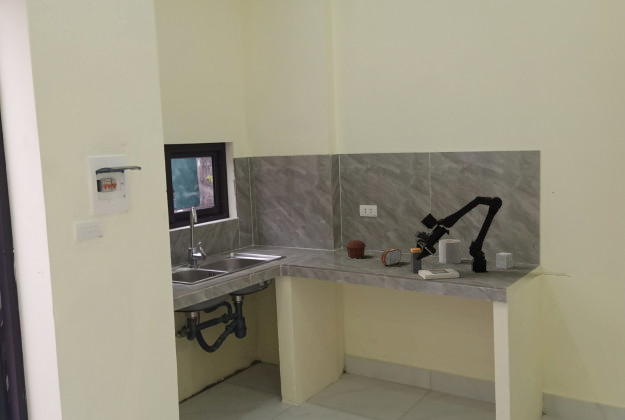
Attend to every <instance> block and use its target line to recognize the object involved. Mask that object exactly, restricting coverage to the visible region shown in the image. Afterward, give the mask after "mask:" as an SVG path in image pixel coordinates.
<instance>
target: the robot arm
mask: <svg viewBox="0 0 625 420" xmlns="http://www.w3.org/2000/svg"><path fill="white" fill-rule="evenodd" d="M479 205H483V206H488V210H487V213H486V215H485V218H484V221H483V223H482V225H481V227H480V229H479V232H478V233H477V236H476V238H475V239H471V243H470V245H468V249H469V250H468V253H469V255H470V257H472V261H471V263H470V264H471V265H470V266H471V272H474V273H475V274H476V273H488V270H487V259H486V253H485V252H484V251H483V250H482V249H483V245H484V241H485V239H486V237H487V235H488V232H489V230H490V227H491V225H492V223H493V220H494V218H495V216H496V215H497V213H498V212H499V211H500V210H501V208H502V206H503V199H502V198H501V197H500V196H496V195H495V196H492V197H491V196H483V195H476V196H475V197H474V198H473V199H472V200H470V201H469V202H468V203H466V204H465V205H463V206H462V207H461V208H459V209H458V210H457V211H455V212H452V213H450V214H447V215H446V216H445V217H444V218H438V219H437V218H436V217H435V216H434V215H433V213H432V212H429V213H428V214H427V215H426V216H425V217H424V218H423V219H422V220H421V221H420V223H421V225H423V226H424V227H425V228H426V229H427V230H431V232H426V231H423V230H422V231H419V230H416V232H415V233H414V234H415V235H414V237H415V238H417V239H416V240H415V248H420V249H421V253H420V254H419V255H418V257H417V258H416V260H420V259H421V260H422V259H425V258H426V257H429V256H433V255H434V254H435V253H436V252H437V249H436V248H435V247H434V246H435V245H436V244H439V241H440V240H442V239H441V238H443V237H444V235H445V234H446V235H448V236H450V229H451V228H452V227H453V226H454V225H455V224H457V222H458V221H459V220H460V219H461V218H463V216H466V214H468V213H469V212H470V211H472V210H473V209H474V208H477V207H478V206H479Z"/></svg>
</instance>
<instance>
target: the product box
mask: <svg viewBox="0 0 625 420" xmlns="http://www.w3.org/2000/svg"><path fill="white" fill-rule="evenodd" d="M513 254H514V253H513V252H512V253H511V252H503V251H502V252H499V253H496V255H495V258H496V259H495V261H496V262H495V263H496V264H495V265H496V268H497V269H502V270H503V269H505V270H508V269H511V268H513V267H514V266H513V265H514V264H513V263H514V261H513V259H514V258H513V257H514V256H513Z"/></svg>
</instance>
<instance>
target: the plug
mask: <svg viewBox="0 0 625 420" xmlns="http://www.w3.org/2000/svg"><path fill="white" fill-rule="evenodd" d="M420 253H421V249H420V248H416V247H414V248H413V247H412V248H410V273H413V274H419V270H423V269H422V267H423V266H422V259H420V260H416V258H417V257H418V255H419V254H420Z"/></svg>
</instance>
